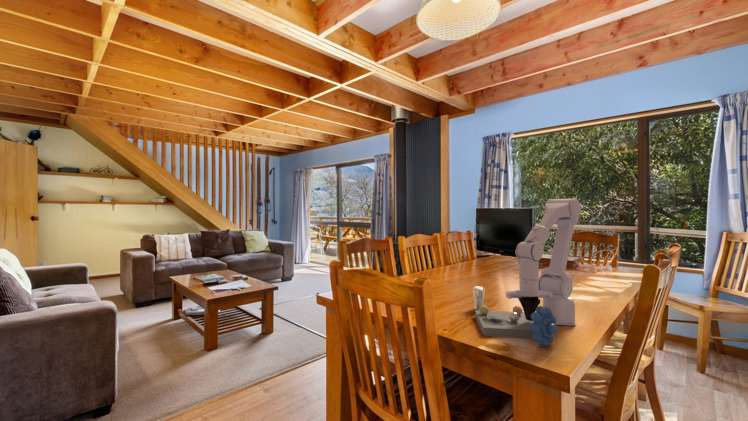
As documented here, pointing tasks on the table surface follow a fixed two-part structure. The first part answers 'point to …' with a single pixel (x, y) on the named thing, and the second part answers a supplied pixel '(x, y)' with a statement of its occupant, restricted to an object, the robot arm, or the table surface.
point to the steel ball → (514, 316)
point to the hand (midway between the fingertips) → (529, 319)
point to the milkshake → (478, 297)
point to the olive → (484, 309)
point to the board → (503, 324)
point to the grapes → (543, 326)
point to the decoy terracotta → (517, 310)
